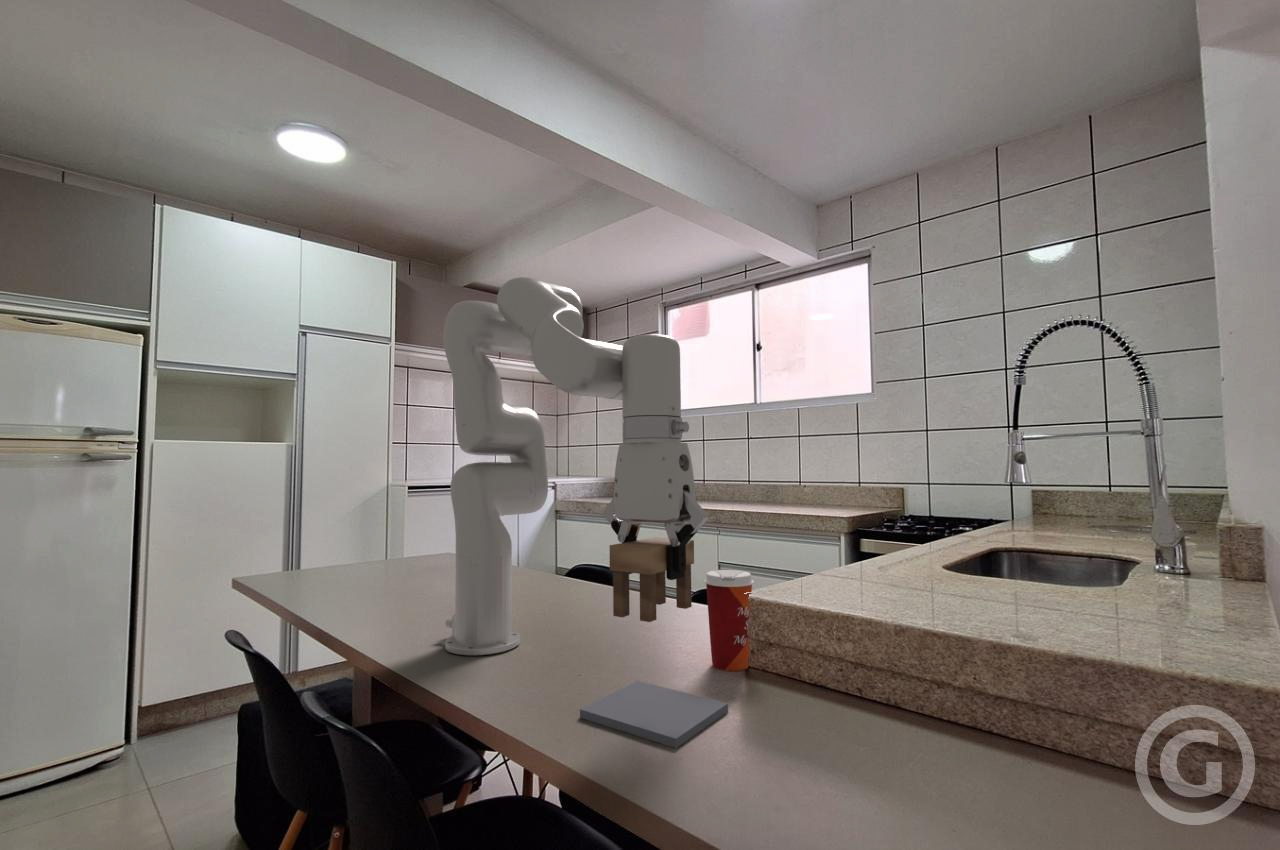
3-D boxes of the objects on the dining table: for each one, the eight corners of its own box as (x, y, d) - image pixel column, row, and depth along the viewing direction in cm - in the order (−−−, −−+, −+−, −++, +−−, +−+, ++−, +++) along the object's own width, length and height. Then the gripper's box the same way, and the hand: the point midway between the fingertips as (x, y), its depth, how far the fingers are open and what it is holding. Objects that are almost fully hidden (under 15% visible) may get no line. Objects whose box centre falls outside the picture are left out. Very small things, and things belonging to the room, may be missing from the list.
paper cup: (755, 675, 88) (753, 578, 89) (703, 672, 90) (701, 576, 91) (756, 658, 96) (754, 569, 97) (707, 656, 97) (706, 568, 98)
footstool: (656, 600, 81) (655, 537, 82) (694, 606, 77) (693, 540, 78) (609, 616, 73) (609, 545, 73) (650, 623, 69) (649, 548, 70)
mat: (579, 717, 74) (579, 709, 74) (637, 688, 83) (637, 680, 83) (676, 748, 65) (676, 738, 65) (728, 711, 75) (727, 703, 75)
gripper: (725, 431, 75) (728, 578, 73) (617, 436, 85) (617, 565, 84) (694, 428, 69) (697, 588, 67) (581, 434, 79) (581, 573, 78)
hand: (653, 574), depth 75 cm, fingers closed on footstool, 6 cm apart
